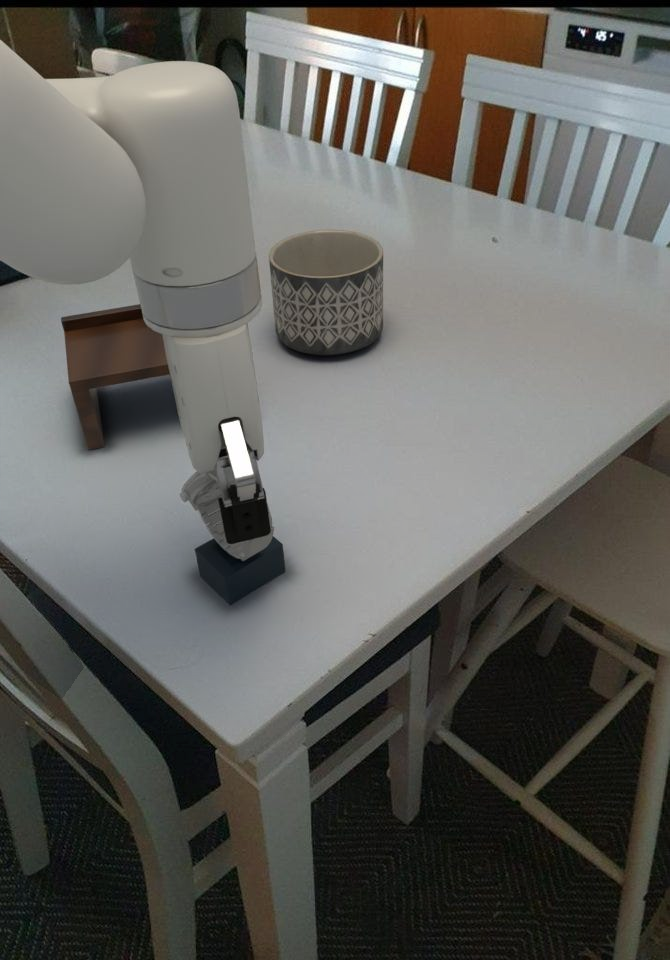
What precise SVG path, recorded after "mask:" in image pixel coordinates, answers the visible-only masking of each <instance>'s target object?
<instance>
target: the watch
mask: <svg viewBox="0 0 670 960" xmlns="http://www.w3.org/2000/svg"><path fill="white" fill-rule="evenodd" d="M224 458H228V456H224V457H221V458H219V459H224ZM224 470H225V475H226V479H227V483H228V488H229V487H230V485H233V484H234V482H233V475H232V471H231V467H228V468H224ZM179 497H180V500H181V501H182V502H183V503H186V502H189V503H190V505H191V506H192V508H193V510H194V511H195V512H197V511H198V513H199V515H200V518H201V520H202V522H203V523H204V525H205V528H206V529H207V530H208V532H209V533H210V535H211V536H212V538H211V539H210V540H208V541H206V542H205V543H203V544H200V545H199V546H197V547H195V548H194V553H195V558H196V563H197V568H198V573H199V577H200V578H201V579H202V580H203V581H204V582H205V583H206V584H208V586H209V587H210V588H212V590H213V591H214V592H216V593H217V595H218V596H220V597H221V599H223V600H224V601H225V602H226V603H227V604H228V605H229V606H232V605H234V604H236V603H237V602H239V601H241V600H242V599H244V598H245V597H247V596H248V595H250V594H252V593H254V592H255V591H256V590H258V589H260V588H261V587H263V586H264V585H266V584H268V583H270V582H271V581H273V580H274V579H276V578H277V577H279V576H281V575H282V574H284V573H286V563H285V553H284V552H285V551H284V543H282V542H281V540H278V539H277V538H276V537H275V536H274V533H275V526H274V525H273V517H272V513H271V510H270V507H269V504H268V503H267V507H268V514H269V521H270V528H271V532H270V534H269V535H267V536H263V537H259V538H255V539H251V540H247V541H243V542H239V543H235V544H228V543H227V541H226V537H225V533H224V527H223V522H222V517H221V512H220V506H219V501H218V498H222V495H221V491H220V487H219V483H218V478H217V474H216V470H215V468H214V470H213V471H208V472H205V473H199V472H198V471H195V472H194V473H193V474H192V475H191V476H190V477H189V478H188V479H187V480H186V481H185V483H184V484H183V486H182V488H181V492H180V493H179Z"/></svg>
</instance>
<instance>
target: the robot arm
mask: <svg viewBox="0 0 670 960" xmlns="http://www.w3.org/2000/svg"><path fill="white" fill-rule="evenodd" d="M240 114H241V113H240V107H239V101H238V95H237V92H236V89H235V86H234V85H233V82H232V81H231V79H230V78H229V76H228V75H227V73H225V72H224V71H223V70H221V69H220V68H218V67H216V66H214V65H211V64H206V63H203V62H198V61H189V60H188V61H187V60H176V61H175V60H172V61H160V62H150V63H145V64H139V65H136V66H132V67H129V68H126V69H123V70H120V71H118V72H116V73H115V74H112V75H108V76H98V77H97V76H95V77H76V78H74V77H73V78H44V77H43V76H42V75H41V74H40V73H39V72H38V71H36V69H34V67H32V66H31V65H30V64H28V63H27V62H26V61H25V60H24V59H23V58H22V57H21V56H19V55H18V54H17V53H16V52H15V51H14V50H13V49H12V48H10V47H9V46H8V45H7V44H6V43H5V42H4V41H3V40H2V39H0V262H2V263H4V264H6V265H7V266H9V267H10V268H12V269H13V270H16V272H19V273H22V274H24V275H26V276H27V277H30V278H32V279H33V278H34V279H37V280H39V281H42V282H45V283H50V284H57V285H62V286H63V285H82V284H87V283H92V282H95V281H98V280H100V279H103V278H105V277H107V276H110V275H111V274H113V273H114V272H115V271H117V270H118V269H120V268H121V267H122V266H123V265H124V264H125V263H126V262H127V261H128V260H129V261H130V262H129V263H130V266H131V270H132V275H133V279H134V283H135V287H136V292H137V296H138V301H139V304H140V306H141V310H142V315H143V319H144V321H145V323H146V325H147V326H148V327H150V328H151V329H152V330H154V331H156V332H158V333H160V334H162V335H163V341H164V347H165V352H166V358H167V363H168V367H169V372H170V375H169V376H170V377H169V378H170V381H171V387H172V390H173V394H174V399H175V400H174V401H175V403H176V410H177V414H178V419H179V422H180V426H181V430H182V433H183V438H184V441H185V445H186V448H187V452H188V455H189V458H190V462H191V465H192V468H193V469H194V470H195V472H197V471H198V472H199V473H205V472H208V471H213V470H214V468H215V470H216V474H217V478H218V483H219V487H220V491H221V495H222V498H218V501H219V506H220V512H221V517H222V521H221V522H223V527H224V533H225V537H226V541H227V543H228V544H235V543H239V542H243V541H247V540H251V539H255V538H259V537H263V536H267V535H269V534H270V532H271V528H270V521H269V514H268V507H269V506H268V507H267V504H268V500H267V494H266V493H267V492H266V489H265V488H264V487H263V483H262V478H261V474H260V470H259V465H258V462H259V461H260V460H261V459H262V457H263V456H264V455H265V441H264V431H263V421H262V412H261V404H260V395H259V390H258V383H257V376H256V368H255V363H254V354H253V350H252V343H251V337H250V331H249V330H250V329H249V324H248V323H250V322H251V321H252V320H254V319H255V317H257V316H258V314H259V313H260V311H261V310H262V306H263V300H262V299H263V298H262V290H261V282H260V275H259V274H260V273H259V266H258V257H257V256H258V255H257V251H256V243H255V233H254V226H253V225H254V224H253V215H252V209H251V208H252V207H251V199H250V191H249V181H248V174H247V173H248V172H247V166H246V157H245V149H244V140H243V131H242V123H241V115H240ZM224 456H228V458H224V459H219V458H221V457H224ZM228 467H231V471H232V475H233V482H234V484H233V485H230V487H229V488H228V483H227V479H226V475H225V470H224V468H228Z"/></svg>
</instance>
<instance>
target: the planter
mask: <svg viewBox="0 0 670 960" xmlns="http://www.w3.org/2000/svg"><path fill="white" fill-rule="evenodd" d="M269 250H270V251H269V253H268V263H269V273H270V283H271V284H270V286H271V295H272V305H273V307H272V308H273V316H274V327H275V328H274V329H275V333H276V336H277V338H278V339H279V341H280V342H281V343H282V344H283V345H285V346H286V347H287V348H290V349H292V350H294V351H297V352H299V353H304V354H308V355H314V356H338V355H344V354H348V353H353V352H357V351H360V350H361V349H364V348H366V347H368V346H369V345H370V346H371V344H373V343H374V342H375V341H376V340H378V339H379V337H380V336H381V334H382V331H383V329H384V248H383V246H382V244H381V243H380V242H379V241H377V240H376V239H375V238H374V237H371V236H370V235H367V234H363V233H361V232H357V231H352V230H346V229H345V230H344V229H318V230H317V229H316V230H309V231H304V232H300V233H296V234H293V235H290V236H287V237H286V238H284V239H281V240H280V241H278V242H277V243H275V244H274V245H273V246H272V247H271V249H269Z"/></svg>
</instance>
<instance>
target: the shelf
mask: <svg viewBox="0 0 670 960" xmlns="http://www.w3.org/2000/svg"><path fill="white" fill-rule="evenodd" d="M60 322H61V325H62V329H63V330H62V331H63V335H64V346H65V347H64V348H65V358H66V367H67V378H68V385H69V389H70V391H71V395H72V398H73V402H74V407H75V409H76V412H77V416H78V419H79V422H80V426H81V430H82V433H83V437H84V440H85V444H86V447H87V450H88V451H91V450H96V449H101V448H105V440H104V433H103V426H102V419H101V412H100V411H101V410H100V405H99V398H98V397H99V396H98V389H99V388H104V387H109V386H110V387H111V386H115V385H120V384H126V383H131V382H137V381H142V380H148V379H153V378H154V379H155V378H158V377H163V376H164V377H165V376H170V372H169V367H168V363H167V358H166V352H165V347H164V341H163V335H162V334H160V333H158V332H156V331H154V330H152V329H151V328H150V327H148V326H147V325H146V323H145V321H144V319H143V315H142V310H141V306H140V303H139V304H138V303H137V304H133V305H126V306H120V307H114V308H108V309H102V310H95V311H89V312H85V313H78V314H71V315H66V316H61V317H60Z"/></svg>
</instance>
